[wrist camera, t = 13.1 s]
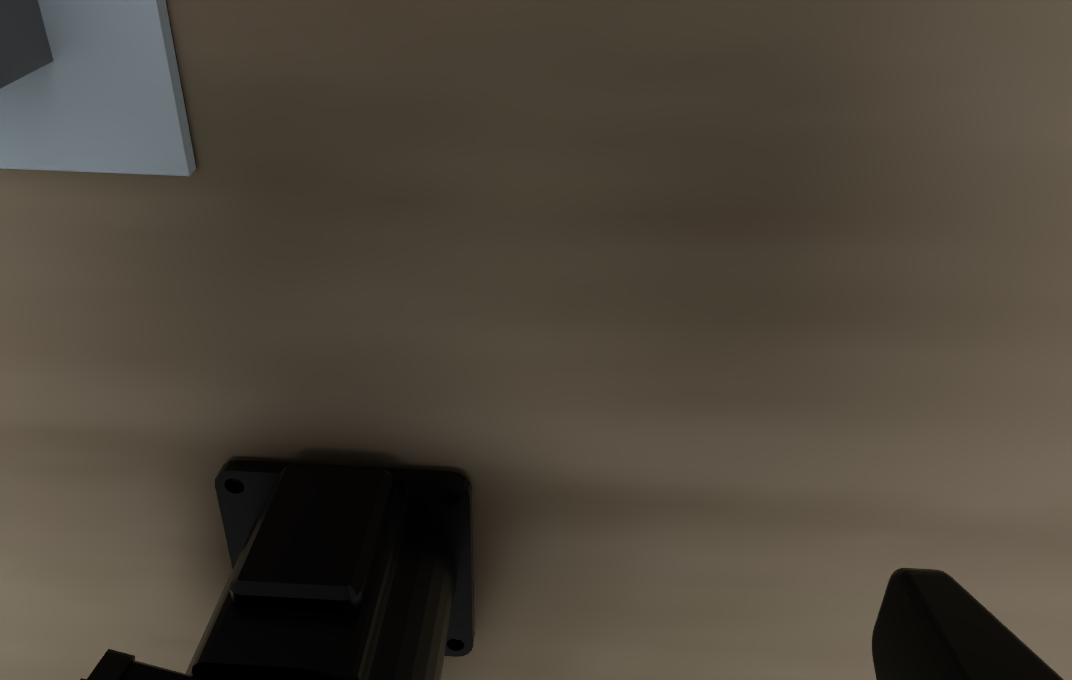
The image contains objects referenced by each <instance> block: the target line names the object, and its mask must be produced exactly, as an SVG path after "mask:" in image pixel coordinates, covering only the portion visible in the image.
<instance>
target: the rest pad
mask: <svg viewBox="0 0 1072 680" xmlns="http://www.w3.org/2000/svg"><path fill="white" fill-rule="evenodd" d="M38 3H39V7H40V11H41V15H42V18H43V22H44V26H45V30H46V34H47V38H48V41H49V45H50V49H51V53H52V57H53V62H51V63H49V64H47V65H45V66H43V67H41V68H39V69H37V70H35V71H33V72H31V73H30V74H28V75H26V76H24V77H22V78H20V79H18V80H16V81H14V82H12V83H10V84H8V85H6V86H5V87H3V88H1V89H0V168H2V169H27V170H51V171H76V172H100V173H125V174H149V175H173V176H190V175H191V174H192V173H193V172H194V171H195V170H196V165H195V159H194V154H193V148H192V143H191V137H190V132H189V126H188V121H187V116H186V110H185V105H184V99H183V94H182V88H181V83H180V77H179V72H178V66H177V61H176V56H175V50H174V45H173V39H172V34H171V28H170V23H169V17H168V12H167V6H166V1H165V0H38Z"/></svg>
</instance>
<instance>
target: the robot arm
mask: <svg viewBox="0 0 1072 680" xmlns="http://www.w3.org/2000/svg"><path fill="white" fill-rule="evenodd" d="M231 478H234V479H238V480H240V481H241V482H242V484H241V483H237V482H235V481H233V480H232V479H231ZM215 487H216V492H217V497H218V502H219V506H220V511H221V516H222V520H223V525H224V530H225V534H226V539H227V544H228V549H229V553H230V558H231V563H232V567H233V570H232V572H231V575H230V577H229V579H228V581H227V583H226V586H225V588H224V590H223V592H222V594H221V597H220V599H219V601H218V603H217V605H216V608H215V610H214V612H213V614H212V616H211V619H210V621H209V623H208V625H207V627H206V630H205V632H204V634H203V636H202V638H201V641H200V643H199V645H198V647H197V649H196V652H195V654H194V656H193V658H192V660H191V663H190V665H189V667H188V669H187V671H186V674H183V673H179V672H176V671H172V670H168V669H164V668H160V667H157V666H153V665H149V664H145V663H142V662H138V661H135V656H133V655H129V654H126V653H122V652H118V651H114V650H111V649H108V650H107V652H106V653H105V655H104V656H103V657H102V659H101V660H100V662H99V663H98V664H97V666H96V667H95V669H94V670H93V671H92V673H91V674H90V676H89V677H88V678H87V680H440V678H441V672H442V666H443V660H444V656H464V655H466V654H468V653H469V652H470V651H471V650H472V648H473V642H474V635H475V632H474V580H473V529H472V487H471V483H470V481H469V480H468V479H467V478H466V477H465V476H463V475H462V474H460V473H456V472H449V471H429V470H410V469H390V468H371V467H351V466H332V465H312V464H292V463H273V462H253V461H229V462H228V463H226V464H224V465H223V467H222V468H221V470H220V471H219V473H218V475H217V477H216V479H215ZM449 489H450V490H454V491H456V492H457V493H458V494H453V495H452V494H448V493H446V492H445V491H444V490H449ZM457 639H458V640H457ZM872 655H873V662H874V668H875V673H876V679H877V680H1063V679H1062V678H1061V677H1060V676H1059V675H1058V674H1057V673H1056V672H1055V671H1054V670H1053V669H1051V668H1050V667H1049V666H1048V665H1047V664H1046V663H1045V662H1044V661H1043V660H1042V659H1041V658H1039V657H1038V656H1037V655H1036V654H1035V653H1034V652H1033V651H1032V650H1031V649H1030V648H1029V647H1027V646H1026V645H1025V644H1024V643H1023V642H1022V641H1021V640H1020V639H1019V638H1018V637H1016V636H1015V635H1014V634H1013V633H1012V632H1011V631H1010V630H1009V629H1008V628H1007V627H1006V626H1004V625H1003V624H1002V623H1001V622H1000V621H999V620H998V619H997V618H996V617H995V616H994V615H992V614H991V613H990V612H989V611H988V610H987V609H986V608H985V607H984V606H983V605H982V604H980V603H979V602H978V601H977V600H976V599H975V598H974V597H973V596H972V595H971V594H970V593H968V592H967V591H966V590H965V589H964V588H963V587H962V586H961V585H960V584H959V583H957V582H956V581H955V580H954V579H953V578H952V577H951V576H949V575H948V574H946V573H945V572H943V571H940V570H933V569H915V568H900V569H897V570H896V571H894V573H893V574H892V575H891V577H890V579H889V582H888V585H887V588H886V591H885V595H884V598H883V601H882V604H881V607H880V610H879V613H878V617H877V620H876V623H875V626H874V630H873V635H872ZM80 680H86V679H82V678H81V679H80Z"/></svg>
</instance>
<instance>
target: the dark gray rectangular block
mask: <svg viewBox="0 0 1072 680" xmlns="http://www.w3.org/2000/svg"><path fill="white" fill-rule="evenodd" d="M51 62H53V57H52V53H51V49H50V45H49V41H48V38H47V34H46V30H45V26H44V22H43V18H42V15H41V11H40V7H39V3H38V0H0V89H1V88H3V87H5V86H6V85H8V84H10V83H12V82H14V81H16V80H18V79H20V78H22V77H24V76H26V75H28V74H30V73H31V72H33V71H35V70H37V69H39V68H41V67H43V66H45V65H47V64H49V63H51Z"/></svg>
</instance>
